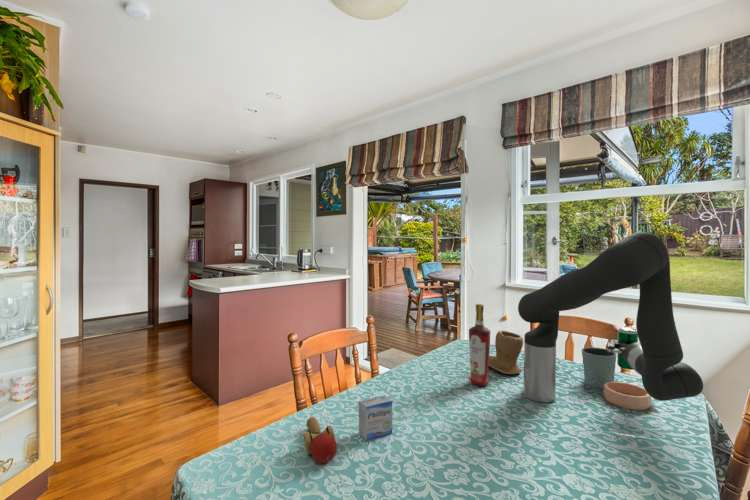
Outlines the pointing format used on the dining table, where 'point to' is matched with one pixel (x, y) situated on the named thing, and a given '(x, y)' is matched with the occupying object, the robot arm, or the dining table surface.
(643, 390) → the bowl
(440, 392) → the dining table surface
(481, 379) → the liquor
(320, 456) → the kendama
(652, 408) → the mat
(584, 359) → the grey-green tumbler
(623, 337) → the soda can
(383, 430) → the medicine box
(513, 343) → the tan boot
